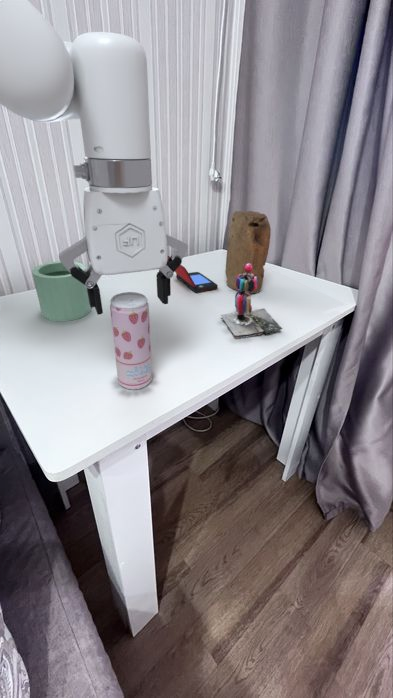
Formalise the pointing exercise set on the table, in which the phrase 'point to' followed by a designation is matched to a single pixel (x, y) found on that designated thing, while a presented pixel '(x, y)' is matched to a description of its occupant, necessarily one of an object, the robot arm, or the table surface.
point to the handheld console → (194, 280)
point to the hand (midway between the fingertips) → (131, 305)
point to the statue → (248, 310)
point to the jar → (60, 292)
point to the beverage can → (131, 339)
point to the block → (247, 246)
